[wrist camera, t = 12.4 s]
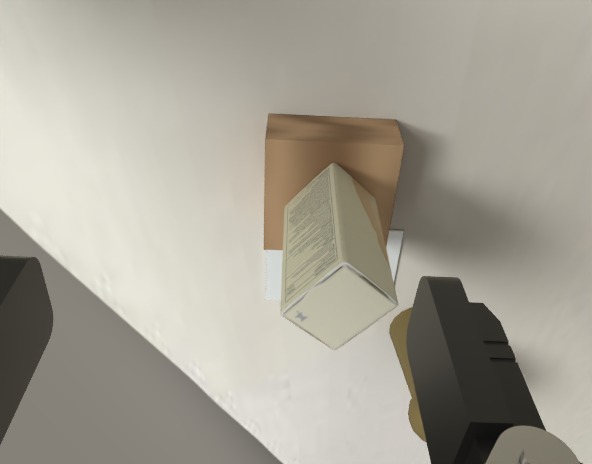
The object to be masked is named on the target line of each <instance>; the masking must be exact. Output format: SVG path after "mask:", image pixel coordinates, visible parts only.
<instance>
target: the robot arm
mask: <svg viewBox="0 0 592 464" xmlns="http://www.w3.org/2000/svg"><path fill="white" fill-rule="evenodd" d="M52 327H53V311H52V306H51V303H50V299H49V295H48V291H47V288H46V284H45V281H44V277H43V273H42V269H41V265H40V263H39V261H38V259H37V258H35V257H21V256H0V444H1V442H2V440H3V438H4V436H5V433H6V431H7V429H8V427H9V425H10V423H11V421H12V418H13V416H14V414H15V412H16V410H17V408H18V406H19V403H20V401H21V399H22V397H23V395H24V393H25V391H26V389H27V386H28V384H29V382H30V380H31V378H32V376H33V373H34V371H35V369H36V367H37V365H38V363H39V361H40V359H41V356H42V354H43V352H44V350H45V348H46V346H47V343H48V341H49V339H50V336H51V332H52ZM406 346H407V355H408V360H409V364H410V369H411V373H412V378H413V383H414V387H415V392H416V396H417V401H418V405H419V410H420V414H421V419H422V424H423V428H424V433H425V437H426V442H427V446H428V451H429V456H430V460H431V464H582V463H580V462H579V461H578V459H577V457H576V456H575V454H574V453H573V452H572V450H571V449H570V448H569V447H568V446H567V445H566V444H565V443H564V442H563V441H561V440H560V439H559V438H557V437H556V436H554V435H553V434H551V433H549V432H547V431H546V429H545V427H544V425H543V423H542V420H541V418H540V416H539V413H538V411H537V409H536V406H535V404H534V401H533V399H532V397H531V394H530V392H529V389H528V387H527V385H526V382H525V380H524V378H523V375H522V373H521V370H520V368H519V366H518V363H516V362H515V359H516V358H515V356H514V354H513V351H512V349H511V347H510V346H509V345H508V339H507V337H506V335H505V332H504V330H503V327H502V325H501V323H500V321H499V320H498V319H497V318H496V317H495V316H494V314H493V313H492V312H491V311H490V310H489V309H488V308H487V307H486V306H485V305H484V304H483V303H470V302H469V301H468V299H467V296H466V293H465V291H464V288H463V285H462V283H461V281H460V279H459V278H453V277H431V276H423V277H422V278H421V279H420V282H419V285H418V289H417V293H416V297H415V300H414V304H413V308H412V312H411V316H410V319H409V323H408V327H407V337H406Z"/></svg>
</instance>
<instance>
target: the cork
mask: <svg viewBox="0 0 592 464" xmlns="http://www.w3.org/2000/svg"><path fill="white" fill-rule="evenodd" d="M412 308H413V307H412ZM412 308H409V309H407V310H405V311H403V312H401V313H400V314H399V315H398V316H397V317H395V318H394V320H393V322H392V323H391V325H390V332H389V333H390V336H391V339H392V342H393V345H394V347H395V350H396V353H397V356H398V359H399V362H400V365H401V368H402V370H403V373H404V376H405V379H406V382H407V385H408V388H409V390H410V393H411V396H412V399H411V400H410V404H409V411H408V415H409V421H410V424H411V426H412V429H413V431H414V432H415V433H416V434H417V435H418V436H419V437H420V438H421V439H422V440H423V441H425V442H426V437H425V433H424V428H423V424H422V419H421V414H420V410H419V405H418V401H417V396H416V392H415V387H414V383H413V378H412V373H411V369H410V364H409V360H408V355H407V346H406V337H407V327H408V323H409V319H410V316H411V312H412Z"/></svg>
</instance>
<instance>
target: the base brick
mask: <svg viewBox="0 0 592 464" xmlns="http://www.w3.org/2000/svg"><path fill="white" fill-rule="evenodd" d="M403 149H404V144H403V140H402V137H401V134H400V131H399V127H398V124H397V121H396V120H389V119H369V118H348V117H327V116H307V115H286V114H269V116H268V123H267V130H266V137H265V196H264V250H283V232H284V208H285V206H286V205H287V204H288V203H289V202H290V201H291V200H292V199H293V198H294V197H295V196H296V195H297V194H298V193H299V192H300V191H301V190H302V189H304V188H305V187H306V186H307V185H308V184H309V183H310V182H311V181H312V180H313V179H314V178H315V177H316V176H318V175H319V174H320V173H321V172H322V171H323V170H324V169H326V168H327V167H328V166H329V165H330V164H332V163H336V164H338V165H339V166H340V167H341V168H342V169H343V170H345V171H346V172H347V173H348V174H349V175H351V176H352V177H353V178H354V179H355V180H356V181H357V182H358V183H360V184H361V185H362V186H363V187H364V188H365V189H366V190H367V191H368V192H369V193H370V194H371V195H372V196H373V197H374V198H375V200H376V204H377V209H378V213H379V218H380V223H381V227H382V232H383V237H384V241H385V245H386V247H387V241H388V235H389V230H390V224H391V218H392V212H393V207H394V201H395V195H396V189H397V184H398V178H399V172H400V167H401V161H402V155H403Z"/></svg>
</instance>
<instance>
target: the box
mask: <svg viewBox="0 0 592 464" xmlns="http://www.w3.org/2000/svg"><path fill="white" fill-rule="evenodd" d="M397 306H398V301H397V296H396V291H395V287H394V282H393V278H392V273H391V269H390V264H389V260H388V254H387V250H386V245H385V241H384V237H383V232H382V227H381V223H380V218H379V213H378V209H377V204H376V200H375V198H374V197H373V196H372V195H371V194H370V193H369V192H368V191H367V190H366V189H365V188H364V187H363V186H362V185H361V184H360V183H358V182H357V181H356V180H355V179H354V178H353V177H352V176H351V175H349V174H348V173H347V172H346V171H345V170H343V169H342V168H341V167H340V166H339V165H338V164H336V163H332V164H330V165H329V166H328V167H327V168H326V169H324V170H323V171H322V172H321V173H320V174H319V175H318V176H316V177H315V178H314V179H313V180H312V181H311V182H310V183H309V184H308V185H307V186H306V187H305V188H304V189H302V190H301V191H300V192H299V193H298V194H297V195H296V196H295V197H294V198H293V199H292V200H291V201H290V202H289V203H288V204H287V205H286V206H285V208H284V232H283V260H282V287H281V315H282V316H283V317H285V318H286V319H287V320H289V321H291V322H292V323H293V324H295V325H296V326H298V327H299V328H301V329H302V330H304V331H305V332H307V333H308V334H309V335H311V336H313V337H314V338H316V339H317V340H319V341H320V342H322V343H324V344H325V345H327V346H328V347H329V348H331V349H333V350H336V349H338V348H339V347H341V346H342V345H344V344H345V343H347V342H348V341H350V340H351V339H353V338H354V337H355V336H357V335H358V334H360V333H361V332H362V331H364V330H365V329H367V328H368V327H369V326H371V325H372V324H374V323H375V322H376V321H378V320H379V319H380V318H382V317H383V316H384V315H386V314H387V313H388V312H390V311H391V310H393V309H394V308H395V307H397Z"/></svg>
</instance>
